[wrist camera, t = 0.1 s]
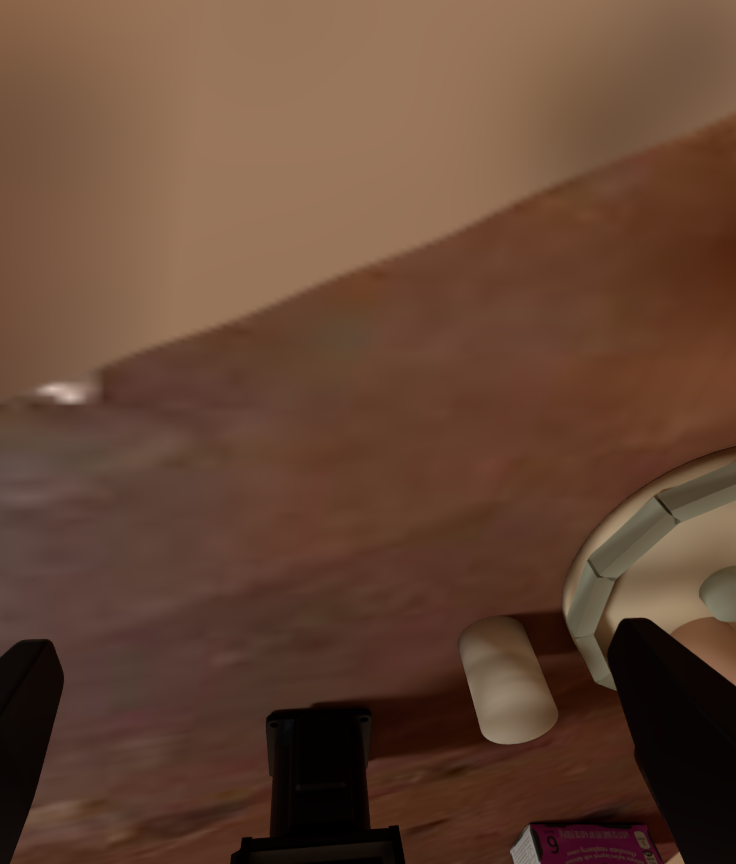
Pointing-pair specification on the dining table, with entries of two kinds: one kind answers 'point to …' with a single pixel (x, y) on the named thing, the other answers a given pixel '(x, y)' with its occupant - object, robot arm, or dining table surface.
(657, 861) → the candy bar box
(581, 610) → the ring dish
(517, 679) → the maple bead
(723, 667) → the terracotta bead
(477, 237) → the dining table surface
